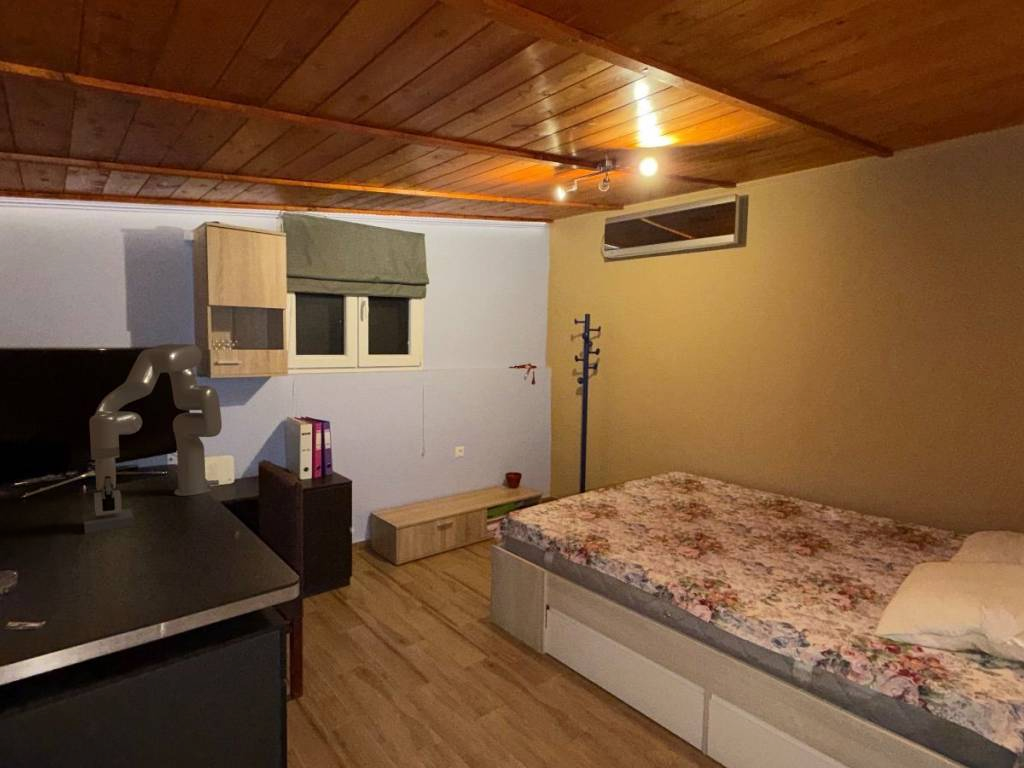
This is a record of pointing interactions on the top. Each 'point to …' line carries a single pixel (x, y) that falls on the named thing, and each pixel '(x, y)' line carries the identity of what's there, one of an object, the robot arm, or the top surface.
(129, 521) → the grey block
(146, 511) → the top surface
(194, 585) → the top surface
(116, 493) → the grey cube
